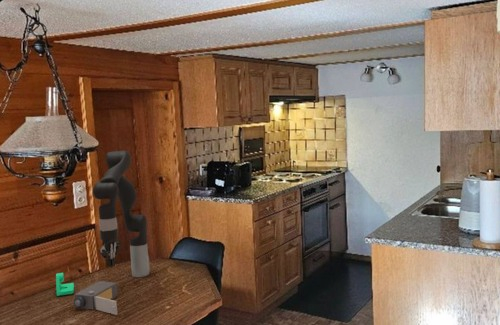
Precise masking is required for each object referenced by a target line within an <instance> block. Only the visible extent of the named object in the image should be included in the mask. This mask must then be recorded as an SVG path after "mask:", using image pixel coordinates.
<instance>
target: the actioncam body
mask: <svg viewBox="0 0 500 325" xmlns="http://www.w3.org/2000/svg"><path fill="white" fill-rule="evenodd" d="M118 294H119V293H118V283H117V282H111V281H102V280H99V281H97V282H95V283H93V284H91V285H89V286H88V287H86V288H84V289H82V290H80V291H78V292H76V293H74V299H73V305H74V306H75V308H76V309H80V308H83V309H82V310H88V309H92V310H91V311H95V310H94V309H95V304H94V296H98V297H102V298H106V299H110V300H111V299H112V298H113V299H115V298H117V297H118ZM116 296H117V297H116ZM114 297H115V298H114ZM113 299H112V300H113Z"/></svg>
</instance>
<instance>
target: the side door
mask: <svg viewBox="0 0 500 325" xmlns="http://www.w3.org/2000/svg"><path fill="white" fill-rule="evenodd" d="M117 302H118V301H117V300H113V299H112V300H110V299H106V298H102V297H98V296H94V304H95V310H94V311H96V310H97V311H99V312H104V313H108V314H110V313H111V315H114V316H117V315H118V306H117V305H118V303H117Z"/></svg>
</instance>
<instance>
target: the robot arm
mask: <svg viewBox="0 0 500 325" xmlns="http://www.w3.org/2000/svg"><path fill="white" fill-rule="evenodd" d="M131 160H132V159H131V154H130V152H129V151H127V150H115V151H109V152H107V153H106V155H105V161H106V165H107V166H106V167H107V171H106V172H105V173H104V174H103V178H101V179H99V180H98V181H97V182H96V183H95V184H94V185H93V188H92V195H93V197H94V198H95V199H97V200H109V201H108V202H107V203H103V204H100V205H99V206H98V217H99V222H98V223H99V224H98V226H99V237H100V240H101V241H102V244H101V246H102V247H101V248H99V249H98V252H99V253H100V255H101V256H102V257H103V259H106V260H107V266H108V267H110V268H112V267H114V266H115V258H116V256H117V255H118V254H119V250H120V247H121V244H122V243H121V242H120V241H118V238H119V231H118V229H119V227H118V220H117V211H116V210H117V209H116V208H117V206H116V205H117V199H118V202H119V204H120V207H121V211H122V214H123V215H122V216H123V221H124V226H125V229H126V231H127V232H130V233H138V234H139V235H137V236H134V237H131V239H129V252H130V268H131V276H132V277H133V278H143V277H146V276H149V274H150V270H151V269H150V256H149V253H148V251H149V250H148V228H147V226H148V223H147V220H148V219H147V217H146V215H145V214H132V212H131V211H132V208H133V206H134V205H135V203H136V201H137V196H138V195H137V192H136V189H135V186H134V184H133V183H132V182H131V180H129V179H128V178H127V177H125V176H124V174H125V173H126V172H127V170H128V169H129V168H130V166H131Z"/></svg>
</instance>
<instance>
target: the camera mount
mask: <svg viewBox="0 0 500 325" xmlns="http://www.w3.org/2000/svg"><path fill="white" fill-rule="evenodd" d="M64 276H65V274H64V272H58V273H56V274H55V281H56V282H55V285H56V290H55V291H56V296H57V297H59V296H65V295H72V294H75V293H74V292H75V283H74V282H70V283H64V281H65V277H64ZM62 283H63V284H62Z"/></svg>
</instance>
